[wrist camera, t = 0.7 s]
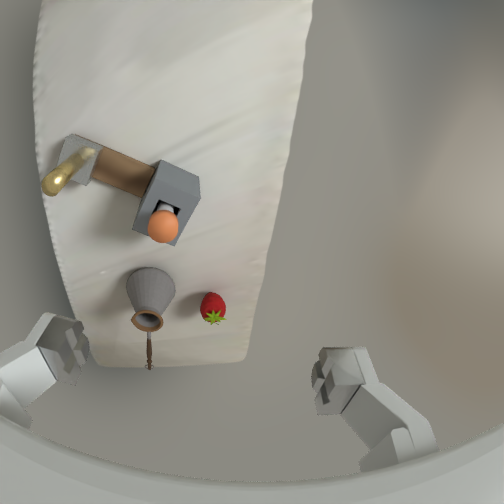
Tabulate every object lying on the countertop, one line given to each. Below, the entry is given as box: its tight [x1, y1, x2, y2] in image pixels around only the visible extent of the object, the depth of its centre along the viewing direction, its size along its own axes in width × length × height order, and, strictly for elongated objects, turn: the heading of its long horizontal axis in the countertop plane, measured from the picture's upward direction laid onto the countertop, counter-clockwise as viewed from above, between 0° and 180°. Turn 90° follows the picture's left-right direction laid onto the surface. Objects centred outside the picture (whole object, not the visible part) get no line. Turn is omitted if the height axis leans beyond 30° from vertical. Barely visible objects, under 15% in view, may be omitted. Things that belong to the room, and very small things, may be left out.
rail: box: [75, 134, 155, 198], centre depth 47 cm, size 6×18×2 cm, turn 57°
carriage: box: [42, 134, 103, 196], centre depth 38 cm, size 7×7×14 cm
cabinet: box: [132, 160, 201, 246], centre depth 49 cm, size 11×8×10 cm
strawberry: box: [200, 292, 226, 325], centre depth 66 cm, size 6×8×10 cm
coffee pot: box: [126, 267, 176, 370], centre depth 61 cm, size 21×12×15 cm, turn 166°
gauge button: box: [148, 200, 178, 243], centre depth 46 cm, size 5×5×11 cm
